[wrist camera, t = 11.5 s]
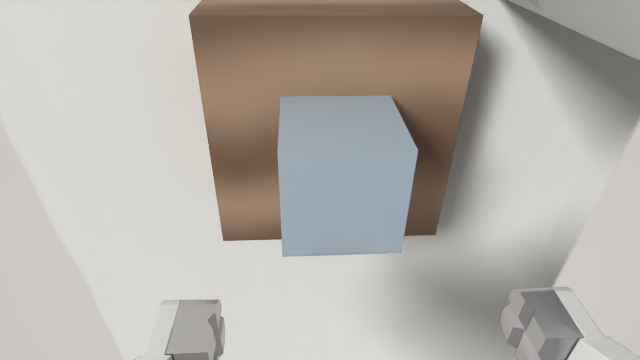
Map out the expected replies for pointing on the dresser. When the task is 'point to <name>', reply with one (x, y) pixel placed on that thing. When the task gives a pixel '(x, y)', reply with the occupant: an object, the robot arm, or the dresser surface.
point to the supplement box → (595, 20)
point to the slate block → (343, 175)
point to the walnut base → (327, 89)
